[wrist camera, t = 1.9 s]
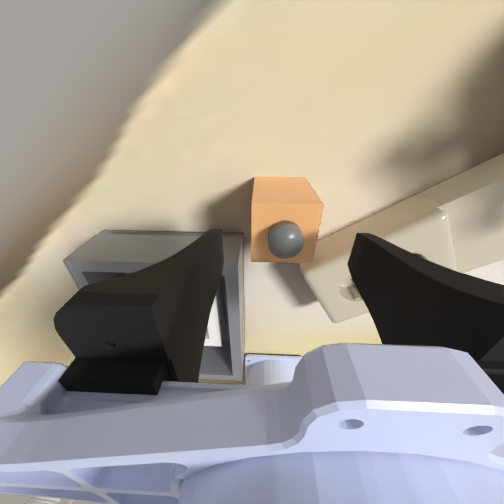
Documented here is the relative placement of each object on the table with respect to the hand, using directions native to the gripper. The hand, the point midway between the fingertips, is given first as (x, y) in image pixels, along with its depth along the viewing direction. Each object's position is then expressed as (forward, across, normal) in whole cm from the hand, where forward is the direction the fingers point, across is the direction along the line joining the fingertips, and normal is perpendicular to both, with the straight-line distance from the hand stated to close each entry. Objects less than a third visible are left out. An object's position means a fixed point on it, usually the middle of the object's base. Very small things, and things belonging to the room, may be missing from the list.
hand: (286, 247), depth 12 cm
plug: (+8, 0, 0) cm, 8 cm away
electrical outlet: (+8, -12, +3) cm, 14 cm away
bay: (+7, +10, +11) cm, 16 cm away
